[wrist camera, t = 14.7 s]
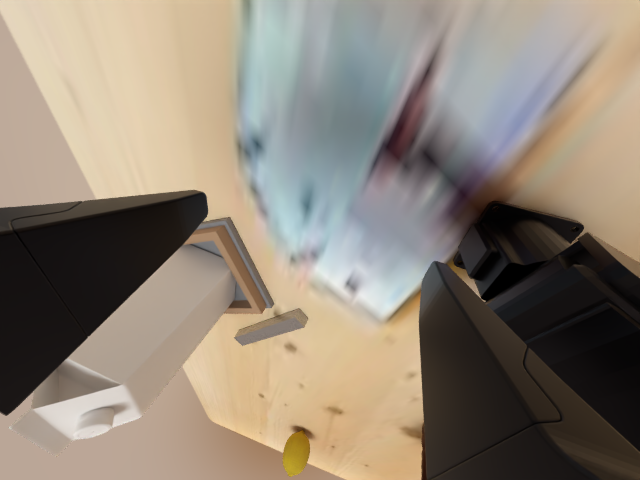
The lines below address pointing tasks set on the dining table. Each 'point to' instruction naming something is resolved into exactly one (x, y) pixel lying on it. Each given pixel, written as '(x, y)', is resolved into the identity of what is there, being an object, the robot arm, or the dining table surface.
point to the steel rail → (272, 327)
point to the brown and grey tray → (234, 265)
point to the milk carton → (131, 352)
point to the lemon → (296, 453)
